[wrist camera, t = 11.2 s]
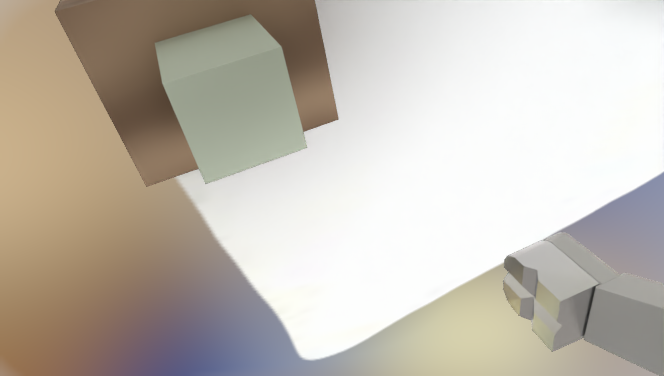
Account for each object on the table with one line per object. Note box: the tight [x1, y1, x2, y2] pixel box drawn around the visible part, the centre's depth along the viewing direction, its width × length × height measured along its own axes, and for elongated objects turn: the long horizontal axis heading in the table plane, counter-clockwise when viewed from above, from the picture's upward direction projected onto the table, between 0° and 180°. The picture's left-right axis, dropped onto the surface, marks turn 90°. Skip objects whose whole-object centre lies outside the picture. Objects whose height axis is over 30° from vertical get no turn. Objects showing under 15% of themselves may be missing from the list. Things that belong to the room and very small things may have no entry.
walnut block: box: [55, 0, 338, 186], centre depth 28 cm, size 10×12×6 cm
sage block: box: [155, 14, 307, 184], centre depth 23 cm, size 5×5×6 cm
